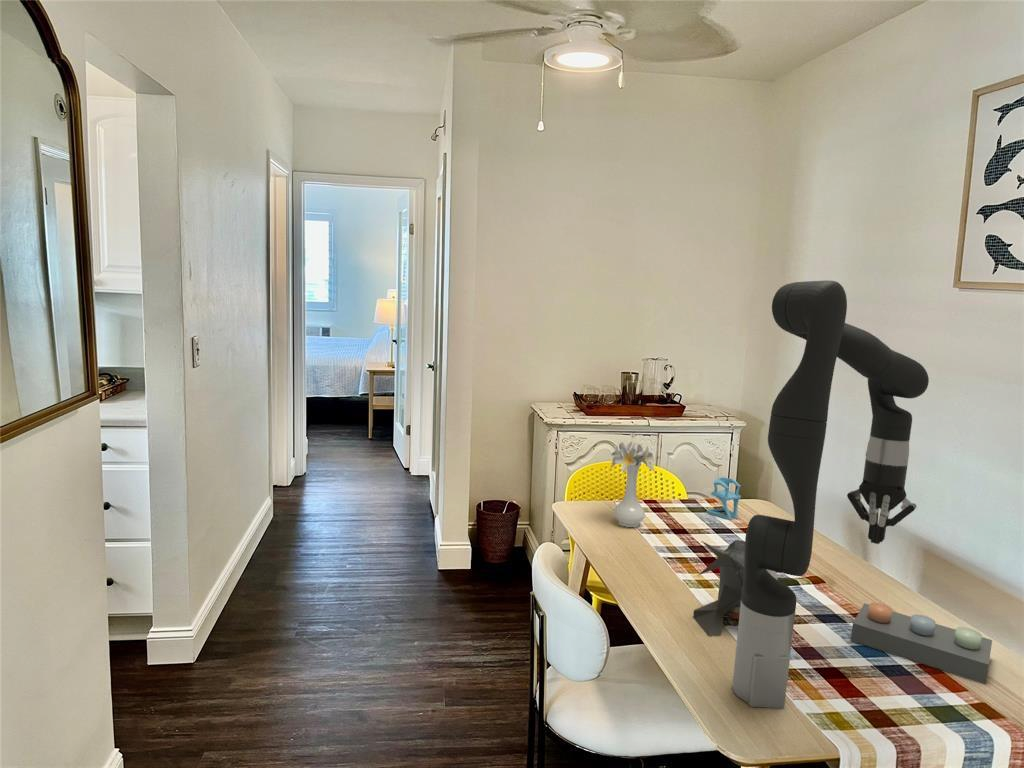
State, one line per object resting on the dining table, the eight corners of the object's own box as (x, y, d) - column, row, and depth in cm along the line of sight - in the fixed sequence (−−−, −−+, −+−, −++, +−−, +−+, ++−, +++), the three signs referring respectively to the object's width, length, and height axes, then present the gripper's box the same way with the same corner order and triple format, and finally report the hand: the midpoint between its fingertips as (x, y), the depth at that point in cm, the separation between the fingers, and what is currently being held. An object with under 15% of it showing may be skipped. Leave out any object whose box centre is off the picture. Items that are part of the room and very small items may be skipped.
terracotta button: (892, 617, 151) (893, 607, 151) (888, 625, 148) (890, 614, 148) (869, 611, 154) (871, 600, 154) (865, 618, 150) (867, 607, 150)
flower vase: (643, 514, 223) (649, 437, 219) (653, 535, 204) (660, 452, 200) (602, 511, 223) (607, 435, 219) (608, 533, 205) (614, 449, 201)
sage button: (980, 643, 142) (982, 632, 142) (979, 652, 139) (981, 640, 138) (955, 635, 145) (956, 624, 144) (953, 644, 141) (954, 633, 141)
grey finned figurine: (776, 634, 151) (785, 554, 148) (708, 636, 148) (716, 555, 145) (745, 602, 165) (753, 529, 162) (682, 604, 162) (689, 530, 159)
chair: (725, 521, 219) (728, 484, 217) (705, 512, 226) (709, 476, 225) (742, 518, 223) (746, 481, 221) (723, 509, 230) (726, 474, 228)
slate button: (935, 630, 147) (936, 619, 146) (932, 638, 143) (934, 627, 143) (911, 623, 149) (912, 612, 149) (908, 630, 146) (909, 620, 145)
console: (989, 658, 145) (992, 640, 144) (985, 683, 135) (988, 664, 134) (861, 619, 159) (864, 603, 158) (850, 640, 149) (852, 623, 149)
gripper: (927, 463, 140) (915, 546, 143) (855, 451, 148) (845, 530, 151) (920, 469, 134) (908, 556, 137) (846, 456, 143) (836, 538, 145)
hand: (875, 542), depth 144 cm, fingers closed
